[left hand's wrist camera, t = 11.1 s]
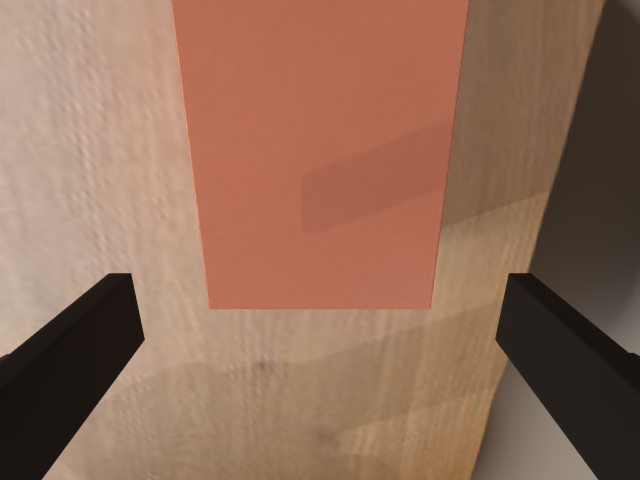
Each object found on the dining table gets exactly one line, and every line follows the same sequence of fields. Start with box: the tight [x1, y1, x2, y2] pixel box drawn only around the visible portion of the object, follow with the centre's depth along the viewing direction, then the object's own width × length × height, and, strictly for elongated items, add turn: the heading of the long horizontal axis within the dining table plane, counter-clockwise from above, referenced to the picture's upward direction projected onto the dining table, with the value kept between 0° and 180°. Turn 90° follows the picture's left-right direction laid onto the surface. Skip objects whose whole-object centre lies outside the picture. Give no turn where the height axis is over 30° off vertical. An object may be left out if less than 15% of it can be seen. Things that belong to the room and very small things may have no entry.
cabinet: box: [171, 0, 470, 309], centre depth 19 cm, size 17×11×9 cm, turn 0°
